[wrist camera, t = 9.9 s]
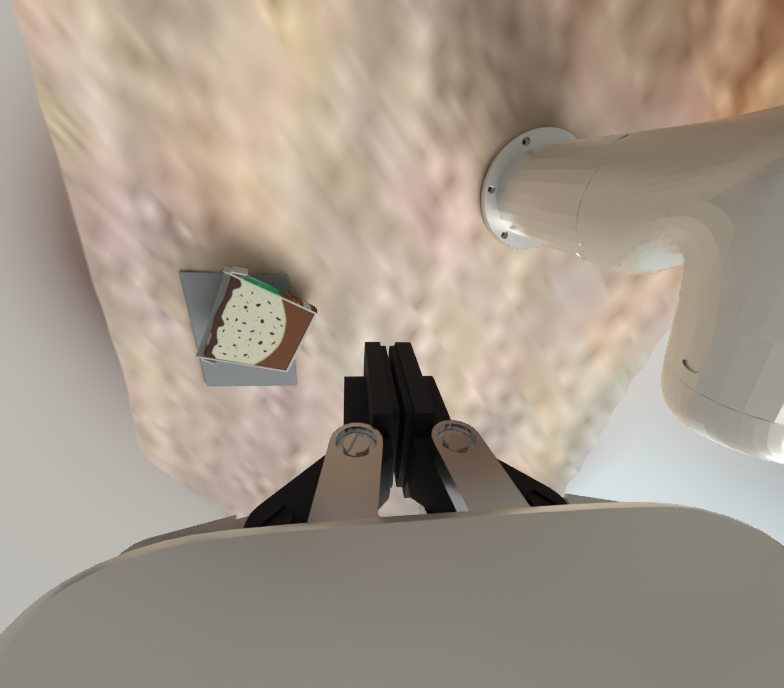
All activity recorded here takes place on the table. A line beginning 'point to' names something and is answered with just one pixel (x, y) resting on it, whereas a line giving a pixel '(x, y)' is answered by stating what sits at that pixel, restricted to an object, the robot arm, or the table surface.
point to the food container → (254, 324)
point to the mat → (200, 304)
